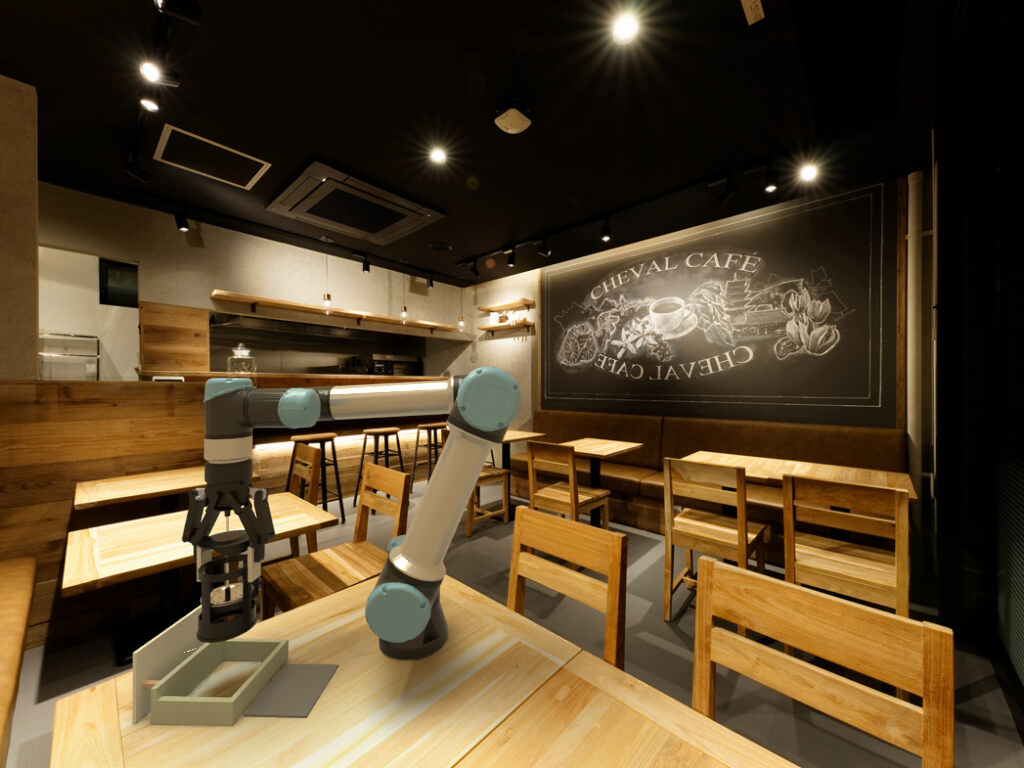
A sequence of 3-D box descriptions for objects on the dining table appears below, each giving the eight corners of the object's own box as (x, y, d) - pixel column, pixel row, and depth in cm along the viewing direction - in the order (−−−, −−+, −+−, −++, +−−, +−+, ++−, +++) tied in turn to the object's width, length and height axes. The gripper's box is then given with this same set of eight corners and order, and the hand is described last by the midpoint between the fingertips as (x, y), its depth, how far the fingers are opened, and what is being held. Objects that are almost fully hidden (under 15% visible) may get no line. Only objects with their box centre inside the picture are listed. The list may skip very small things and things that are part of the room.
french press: (222, 649, 71) (222, 516, 71) (179, 641, 73) (178, 512, 73) (275, 611, 83) (275, 497, 83) (236, 606, 85) (236, 494, 85)
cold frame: (288, 658, 86) (288, 601, 86) (232, 725, 70) (233, 655, 69) (207, 656, 87) (208, 599, 87) (132, 723, 70) (132, 652, 70)
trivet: (338, 666, 84) (338, 664, 84) (306, 717, 71) (306, 716, 71) (285, 664, 84) (285, 663, 84) (243, 716, 71) (243, 714, 71)
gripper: (296, 456, 81) (296, 569, 82) (188, 455, 82) (188, 568, 82) (274, 463, 74) (274, 588, 74) (155, 463, 74) (155, 587, 74)
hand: (229, 578), depth 78 cm, fingers closed on french press, 9 cm apart
